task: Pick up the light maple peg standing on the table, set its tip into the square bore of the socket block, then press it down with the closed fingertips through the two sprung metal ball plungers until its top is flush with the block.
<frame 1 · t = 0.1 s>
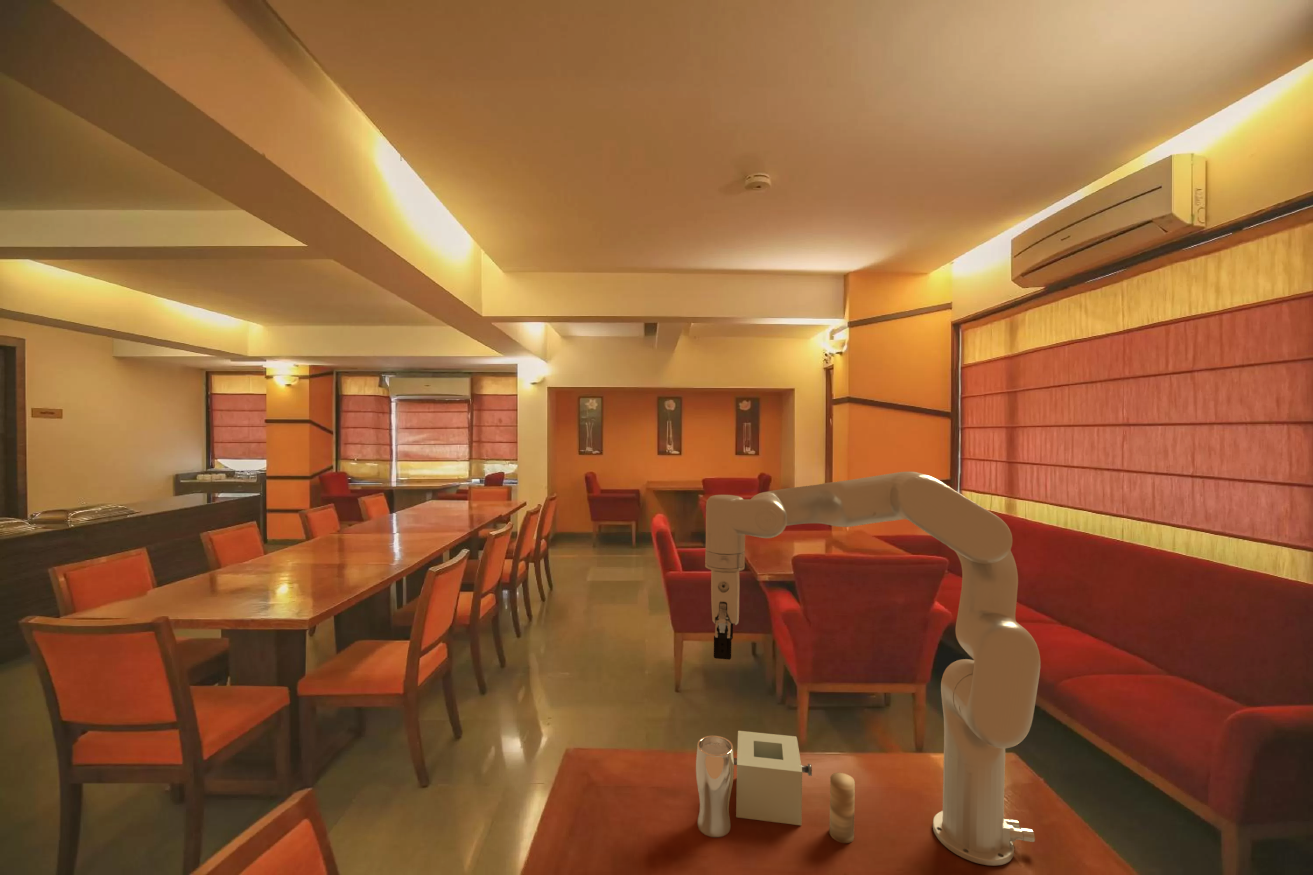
hand: (723, 647, 106), 31 cm above the table, fingers open, 9 cm apart
plunger 2: (794, 767, 108), point 7 cm above the table, slide at 0.0 cm
beer glass: (713, 826, 102), on the table
peg: (841, 834, 100), on the table
plunger 1: (741, 761, 110), point 7 cm above the table, slide at 0.0 cm
socket: (767, 799, 109), on the table
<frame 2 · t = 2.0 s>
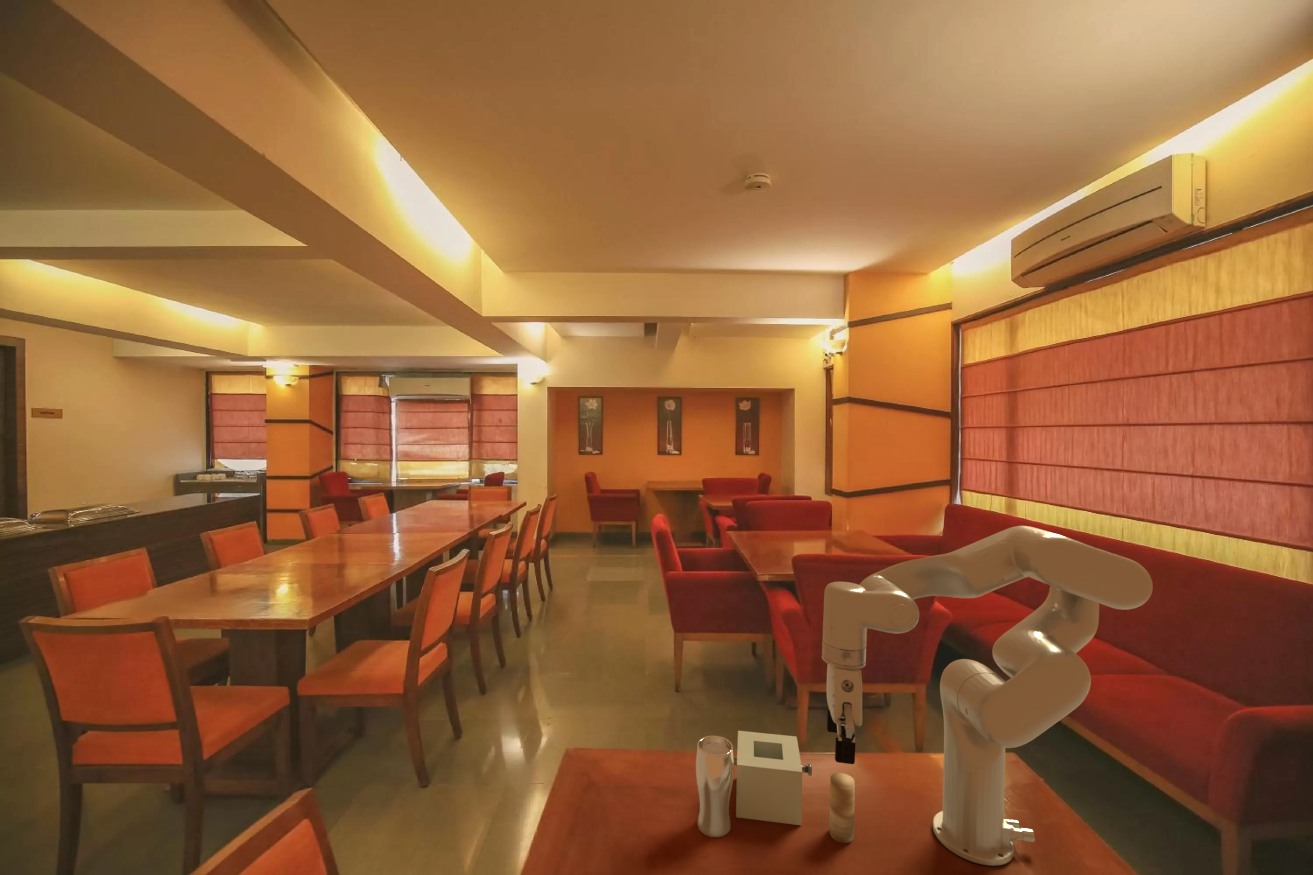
hand: (840, 746, 100), 16 cm above the table, fingers open, 9 cm apart
nothing on the table moved.
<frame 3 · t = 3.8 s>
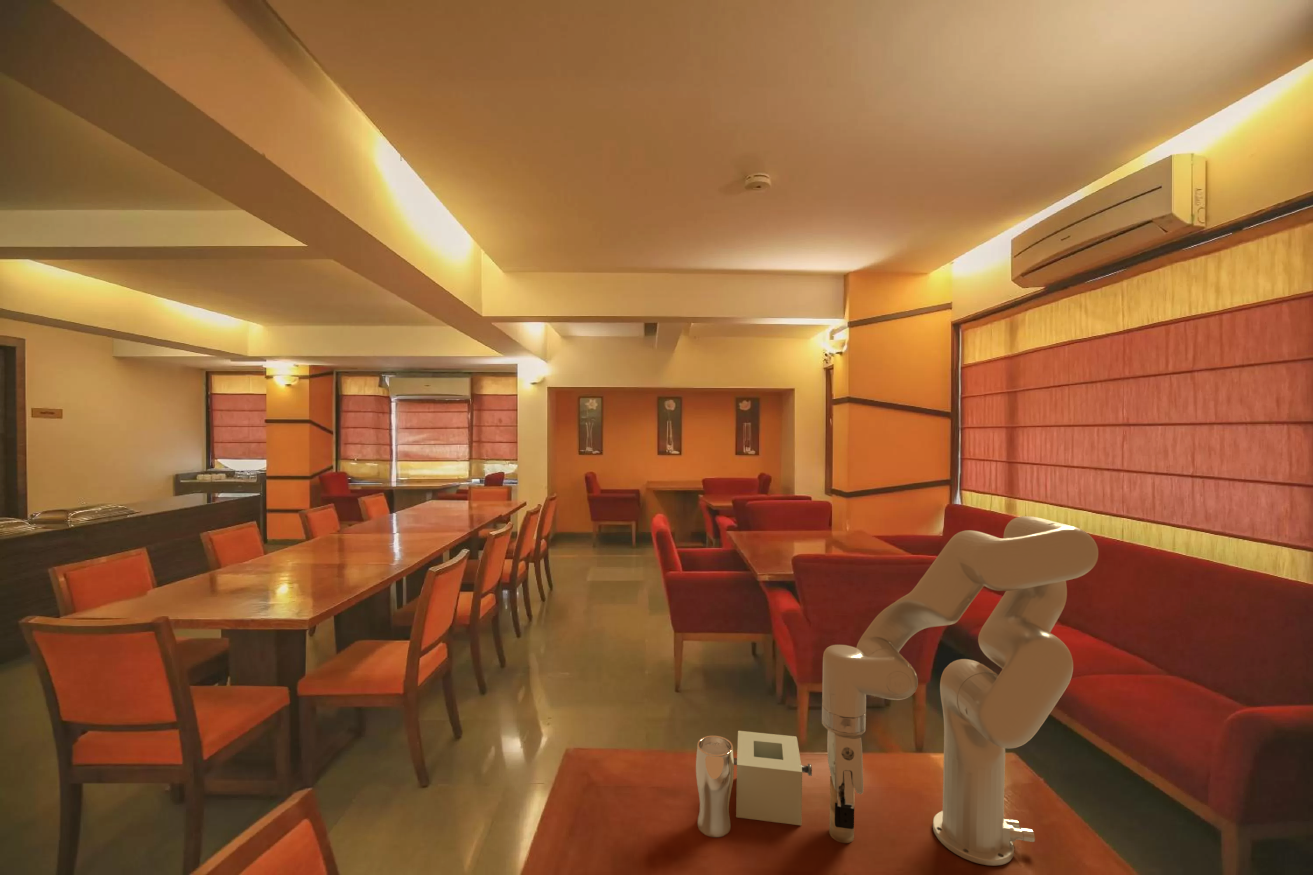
hand: (841, 816, 100), 3 cm above the table, fingers closed on peg, 4 cm apart
peg: (841, 834, 100), on the table, touching gripper
everything else where it was.
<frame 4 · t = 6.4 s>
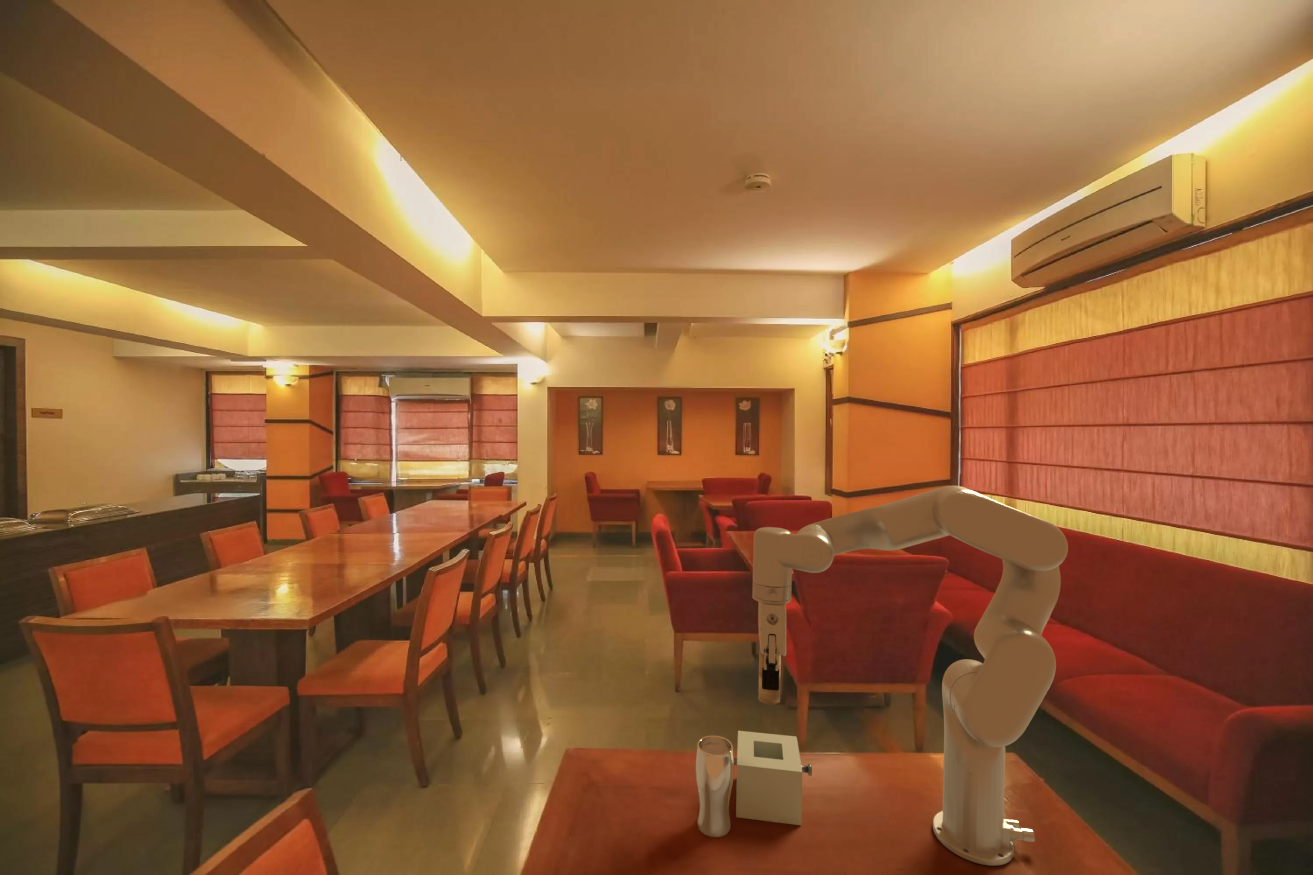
hand: (769, 682, 108), 23 cm above the table, fingers closed on peg, 4 cm apart
peg: (769, 699, 108), point 20 cm above the table, touching gripper
everything else where it was.
when the fingers open (11 cm above the table, at t = 9.0 s): peg stays where it is, resting on plunger 2, plunger 1.
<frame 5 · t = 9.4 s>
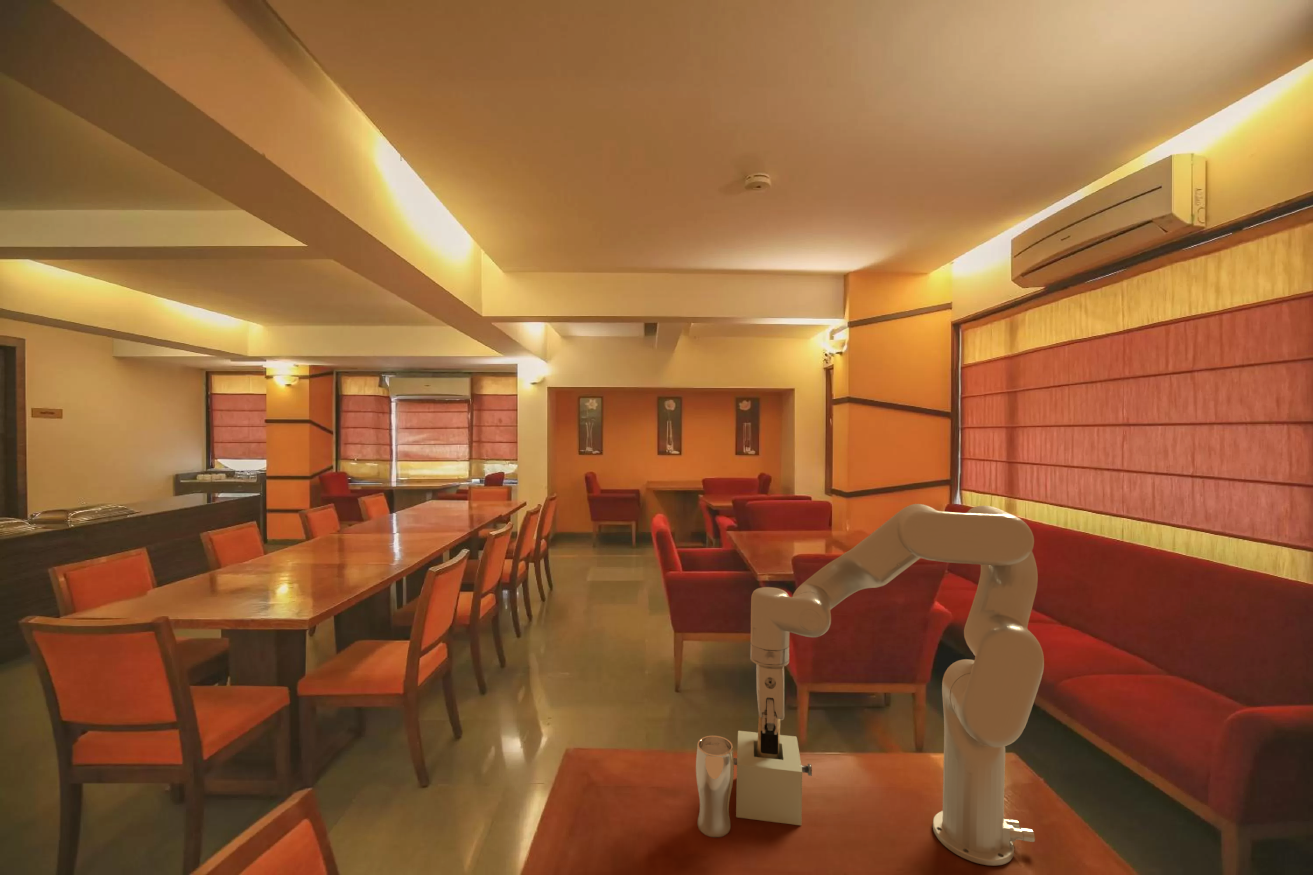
hand: (768, 739, 109), 12 cm above the table, fingers open, 8 cm apart
plunger 2: (794, 767, 108), point 7 cm above the table, slide at 0.0 cm, touching peg
peg: (767, 761, 109), point 8 cm above the table, touching plunger 2, plunger 1
plunger 1: (741, 761, 110), point 7 cm above the table, slide at 0.0 cm, touching peg
everything else where it was.
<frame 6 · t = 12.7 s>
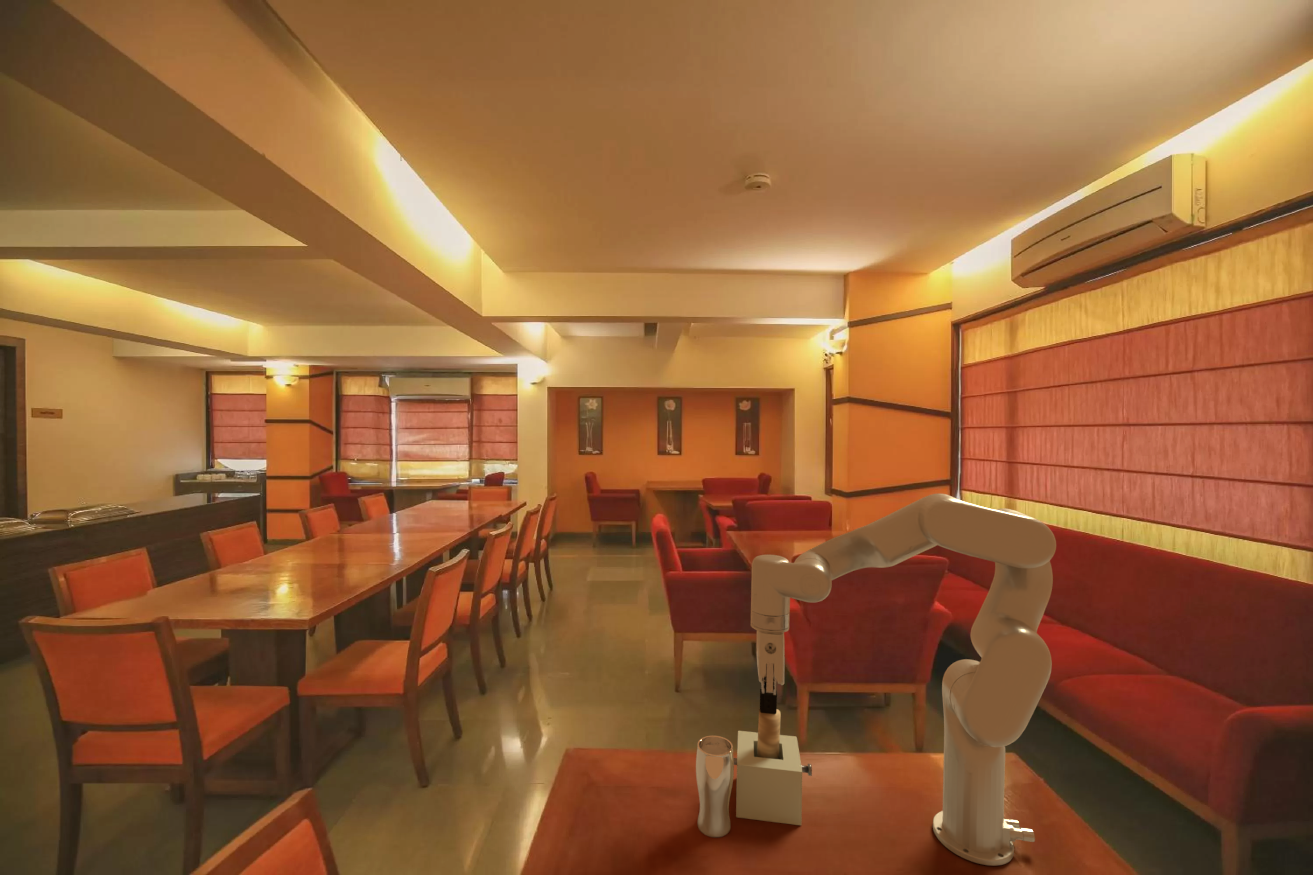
hand: (768, 711, 109), 18 cm above the table, fingers closed
peg: (767, 761, 109), point 8 cm above the table, touching gripper, plunger 2, plunger 1
everything else where it was.
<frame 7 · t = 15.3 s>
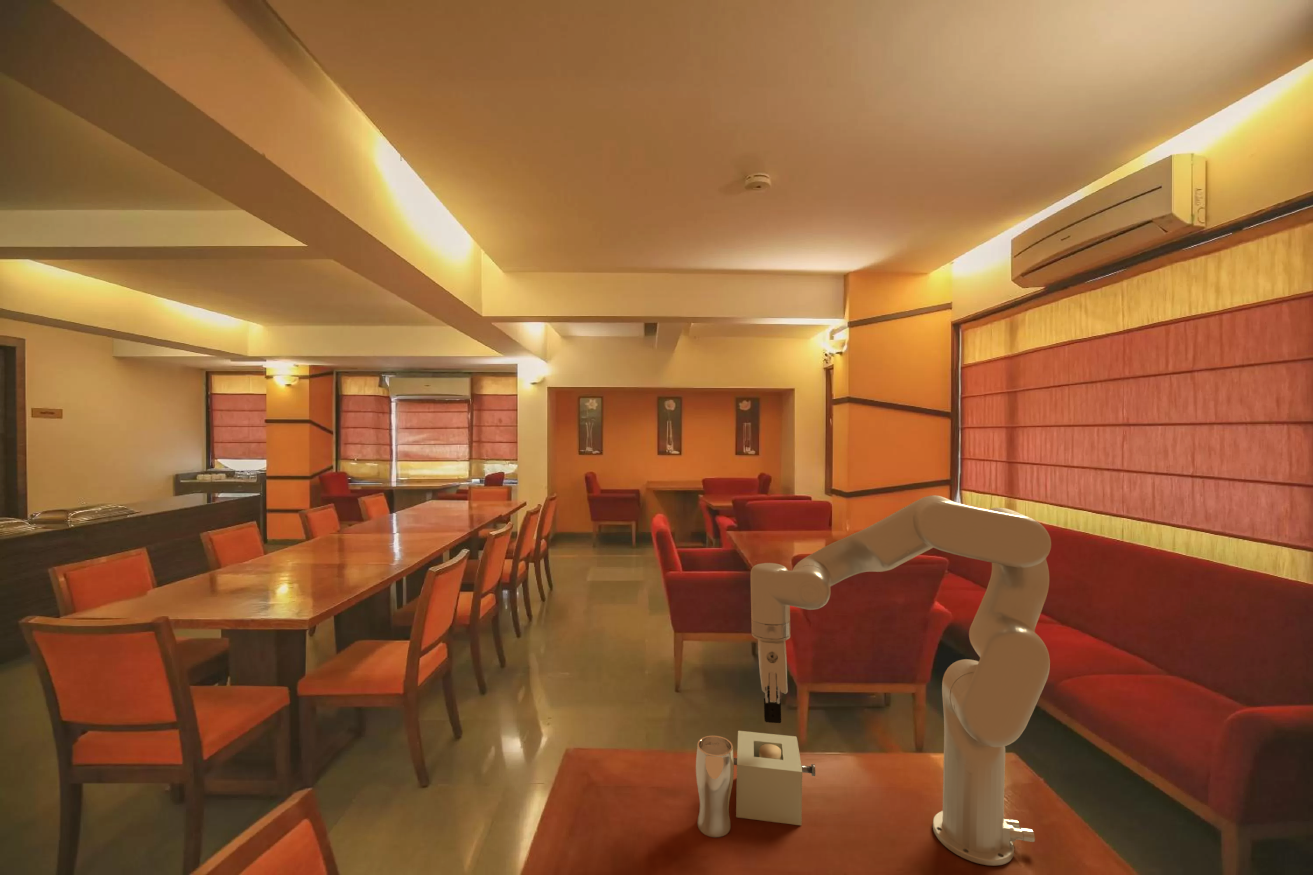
hand: (772, 720, 108), 16 cm above the table, fingers closed
plunger 2: (797, 768, 108), point 7 cm above the table, slide at 0.7 cm, touching peg
peg: (770, 800, 109), resting in socket, touching plunger 2
plunger 1: (738, 761, 110), point 7 cm above the table, slide at 0.7 cm
everything else where it was.
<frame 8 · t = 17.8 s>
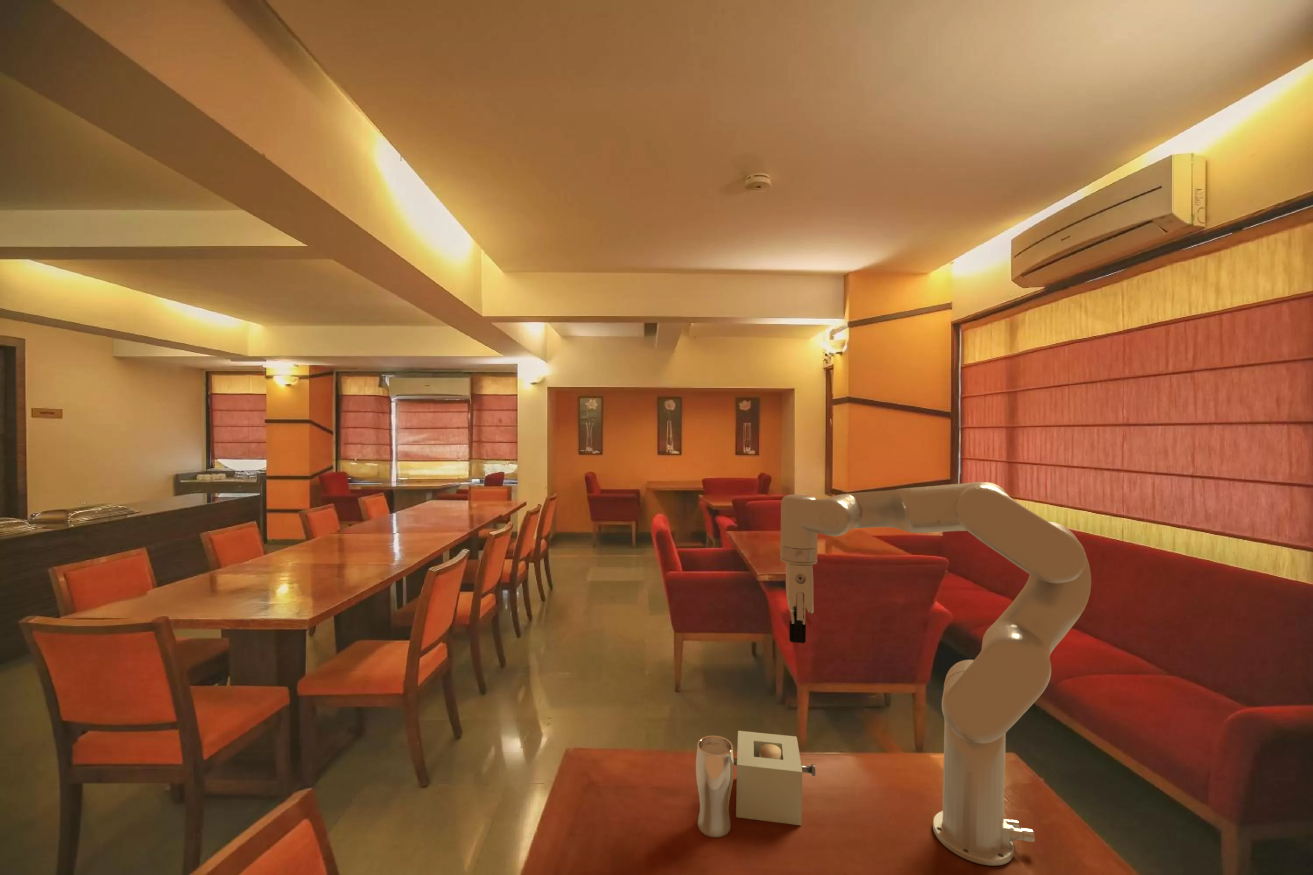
hand: (797, 640, 115), 29 cm above the table, fingers closed
nothing on the table moved.
at the end: peg 0.6 cm off-centre on the socket, point 0.0 cm above the socket's base; the gripper is holding nothing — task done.
